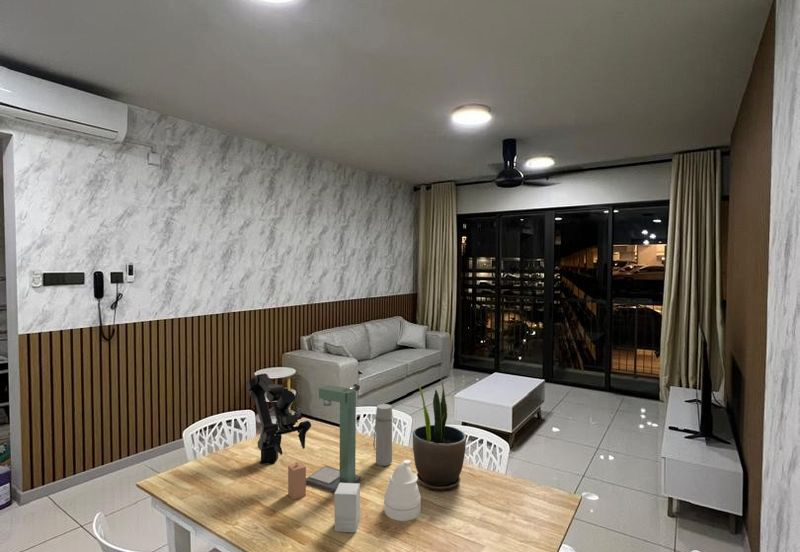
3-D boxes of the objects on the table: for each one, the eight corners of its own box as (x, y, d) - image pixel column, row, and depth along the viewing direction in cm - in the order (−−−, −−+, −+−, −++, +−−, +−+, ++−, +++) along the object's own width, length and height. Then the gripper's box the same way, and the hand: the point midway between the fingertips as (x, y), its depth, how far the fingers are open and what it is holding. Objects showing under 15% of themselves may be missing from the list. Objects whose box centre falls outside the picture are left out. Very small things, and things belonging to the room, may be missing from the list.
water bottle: (395, 461, 187) (396, 405, 187) (385, 468, 180) (386, 410, 180) (378, 456, 192) (379, 401, 192) (368, 463, 185) (368, 406, 185)
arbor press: (304, 482, 168) (305, 388, 167) (335, 463, 185) (335, 377, 185) (341, 494, 159) (342, 395, 159) (369, 473, 177) (370, 383, 176)
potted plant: (451, 465, 184) (452, 373, 183) (475, 490, 163) (476, 387, 163) (405, 472, 178) (406, 377, 177) (423, 499, 157) (424, 392, 156)
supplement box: (360, 519, 144) (360, 483, 144) (356, 533, 136) (356, 494, 136) (339, 518, 145) (339, 481, 144) (333, 531, 137) (334, 493, 137)
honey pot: (428, 509, 150) (428, 459, 150) (403, 525, 141) (404, 472, 141) (401, 496, 159) (402, 448, 159) (376, 510, 150) (377, 459, 149)
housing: (288, 493, 160) (288, 461, 160) (300, 490, 163) (300, 457, 163) (292, 500, 156) (292, 466, 156) (305, 495, 159) (305, 462, 158)
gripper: (265, 410, 164) (275, 448, 156) (309, 401, 175) (321, 436, 167) (258, 423, 171) (267, 461, 162) (301, 413, 182) (312, 448, 174)
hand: (293, 451), depth 166 cm, fingers open, 9 cm apart
